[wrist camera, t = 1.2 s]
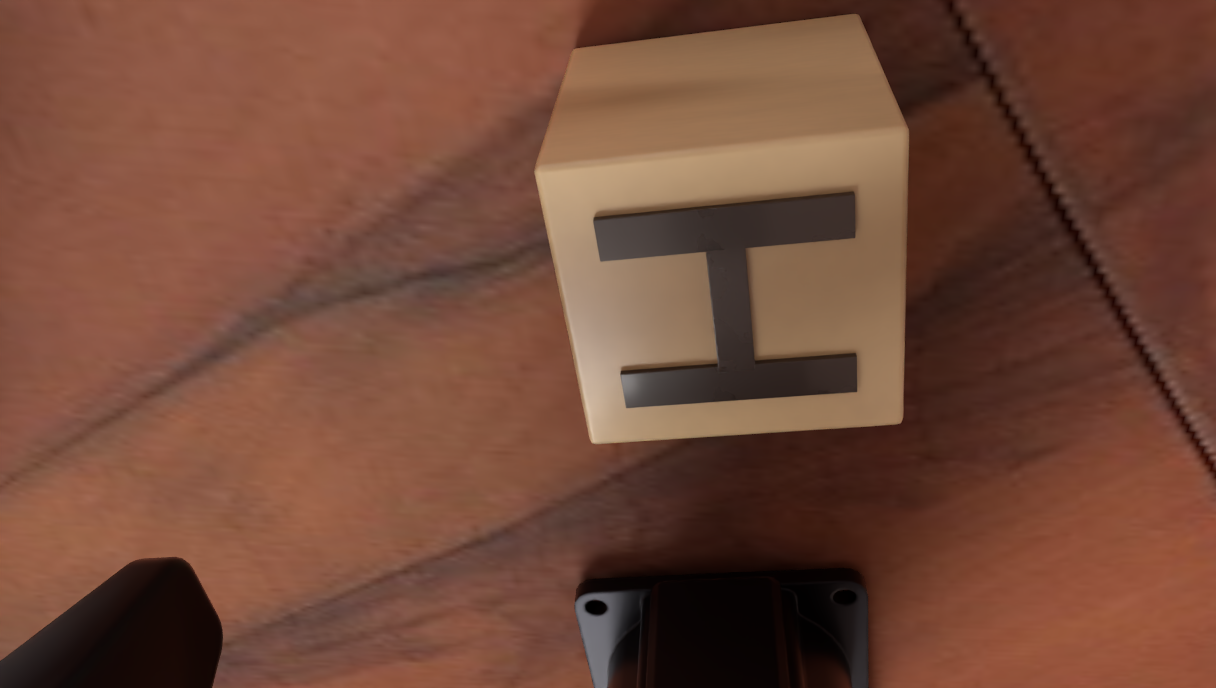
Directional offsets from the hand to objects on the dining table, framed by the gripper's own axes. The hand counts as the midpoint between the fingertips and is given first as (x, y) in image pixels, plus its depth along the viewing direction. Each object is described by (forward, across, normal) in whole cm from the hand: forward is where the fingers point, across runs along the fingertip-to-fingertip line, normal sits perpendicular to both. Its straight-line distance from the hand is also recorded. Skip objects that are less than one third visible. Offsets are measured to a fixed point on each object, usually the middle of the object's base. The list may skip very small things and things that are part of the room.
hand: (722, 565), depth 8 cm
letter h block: (+10, 0, +1) cm, 10 cm away
